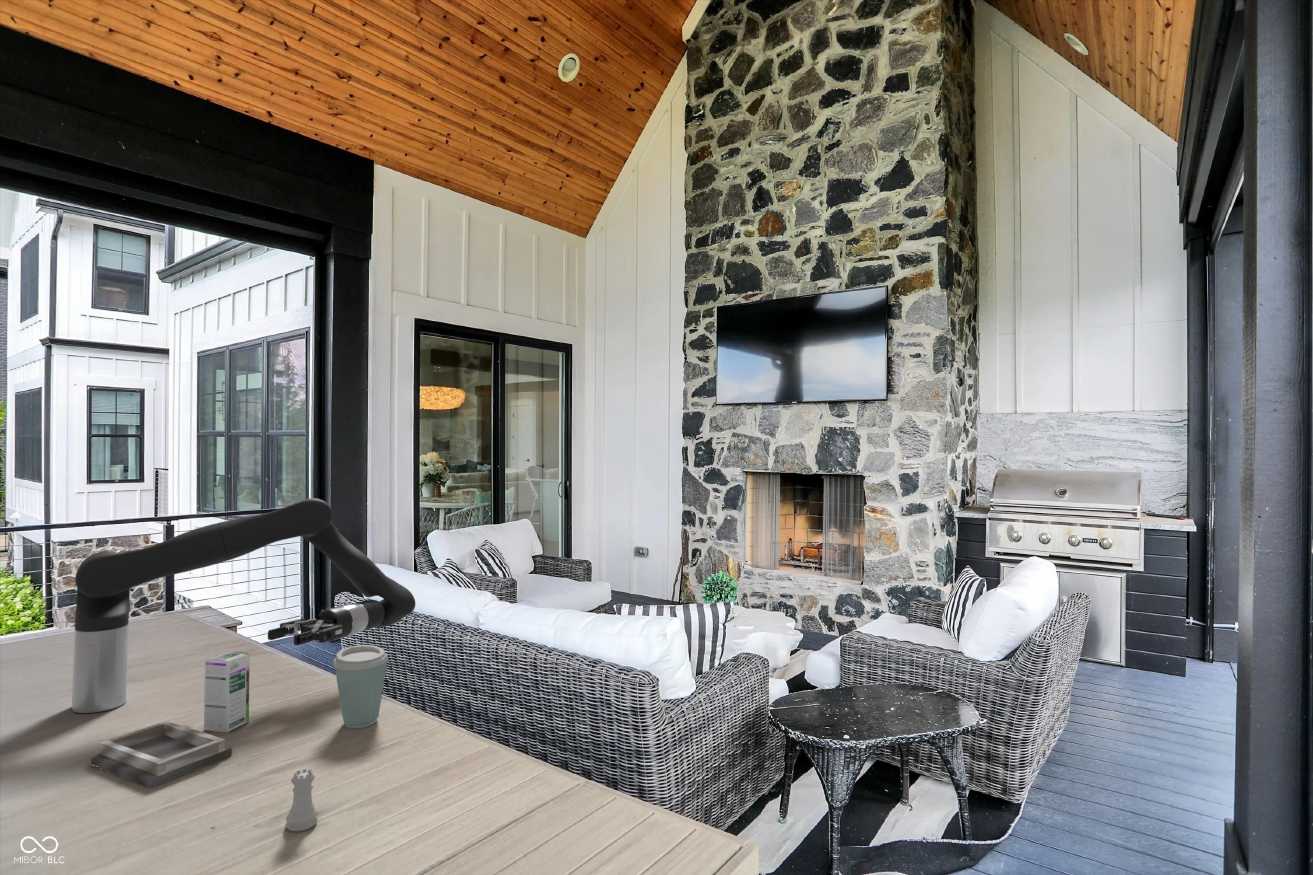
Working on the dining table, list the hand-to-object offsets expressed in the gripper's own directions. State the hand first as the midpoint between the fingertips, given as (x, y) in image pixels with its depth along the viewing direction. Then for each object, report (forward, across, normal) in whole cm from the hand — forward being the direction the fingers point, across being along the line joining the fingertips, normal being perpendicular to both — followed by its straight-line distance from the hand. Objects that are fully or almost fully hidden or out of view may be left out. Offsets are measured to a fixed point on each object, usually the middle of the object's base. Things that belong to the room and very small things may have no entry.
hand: (281, 638), depth 154 cm
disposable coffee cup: (-2, +22, +16) cm, 27 cm away
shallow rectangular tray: (+27, +5, +15) cm, 31 cm away
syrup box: (+12, 0, +15) cm, 20 cm away
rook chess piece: (+30, +46, +15) cm, 57 cm away
